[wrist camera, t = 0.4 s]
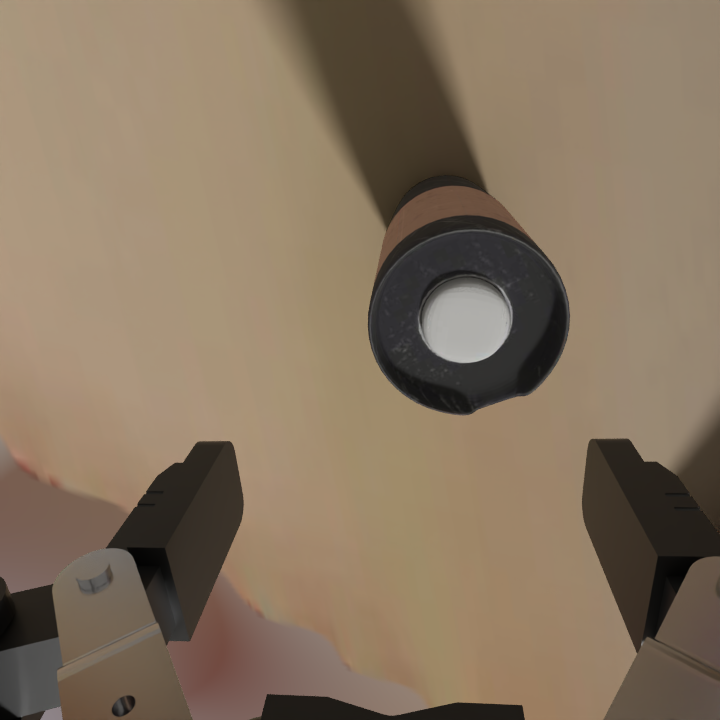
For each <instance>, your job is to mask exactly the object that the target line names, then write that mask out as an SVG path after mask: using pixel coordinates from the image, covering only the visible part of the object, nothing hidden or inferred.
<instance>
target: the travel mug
mask: <svg viewBox="0 0 720 720" xmlns="http://www.w3.org/2000/svg"><path fill="white" fill-rule="evenodd" d="M569 321H570V312H569V302H568V298H567V294H566V289H565V287H564V284H563V282H562V279H561V277H560V275H559V274H558V272H557V270H556V269H555V267H554V265H553V264H552V262H551V261H550V260H549V259H548V258H547V256H546V255H545V254H544V253H543V252H542V250H541V249H540V248H539V247H538V246H537V245H536V243H535V242H534V241H533V240H532V239H531V238H530V236H529V235H528V234H527V233H526V232H525V231H524V229H523V228H522V227H521V226H520V225H519V224H518V222H517V221H516V220H515V219H514V218H513V217H512V215H511V214H510V213H509V212H508V211H507V210H506V208H505V207H504V206H503V205H502V204H501V203H499V202H498V201H497V200H496V199H495V198H493V197H492V196H491V195H490V194H488V193H487V192H486V191H484V190H483V189H482V188H480V187H479V186H477V185H476V184H474V183H473V182H471V181H469V180H467V179H464V178H461V177H456V176H447V175H445V176H436V177H432V178H429V179H426V180H424V181H422V182H420V183H418V184H417V185H416V186H414V187H413V188H412V189H411V190H410V191H408V192H407V193H406V195H405V196H404V197H403V198H402V200H401V201H400V203H399V205H398V207H397V209H396V211H395V213H394V215H393V217H392V220H391V222H390V224H389V227H388V229H387V231H386V234H385V237H384V240H383V245H382V250H381V254H380V259H379V264H378V268H377V273H376V277H375V282H374V287H373V291H372V296H371V301H370V306H369V311H368V332H369V340H370V344H371V348H372V351H373V354H374V357H375V359H376V362H377V363H378V365H379V367H380V369H381V371H382V372H383V373H384V375H385V376H386V378H387V379H388V380H389V381H390V382H391V383H392V384H393V386H394V387H395V388H396V389H397V390H399V391H400V392H401V393H403V394H404V395H405V396H406V397H408V398H410V399H411V400H413V401H414V402H416V403H418V404H420V405H422V406H425V407H427V408H430V409H433V410H436V411H439V412H443V413H448V414H454V415H469V414H472V413H473V412H475V411H476V410H478V409H481V408H483V407H486V406H489V405H492V404H495V403H498V402H501V401H504V400H507V399H510V398H513V397H517V396H526V395H529V394H531V393H532V392H533V391H534V390H536V389H537V388H538V387H539V386H540V385H541V384H542V383H543V382H544V380H545V379H546V378H547V377H548V375H549V374H550V373H551V371H552V370H553V368H554V367H555V365H556V364H557V362H558V360H559V358H560V356H561V354H562V352H563V349H564V346H565V344H566V341H567V336H568V331H569Z"/></svg>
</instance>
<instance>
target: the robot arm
mask: <svg viewBox="0 0 720 720" xmlns="http://www.w3.org/2000/svg"><path fill="white" fill-rule="evenodd" d="M243 505H244V503H243V493H242V487H241V482H240V476H239V471H238V466H237V460H236V455H235V450H234V446H233V444H232V443H231V442H230V441H203V442H197V443H196V444H195V446H194V447H193V449H192V450H191V452H190V453H189V455H188V456H187V458H186V459H185V461H184V462H183V463H174V464H173V465H172V466H170V467H169V468H168V469H166V470H165V471H163V472H162V473H161V474H159V475H158V476H157V477H156V478H155V480H154V481H153V483H152V484H151V485H150V487H149V488H148V490H147V491H146V494H144V495H143V497H142V498H141V500H140V501H139V502H138V506H137V507H135V508H134V509H133V511H132V512H131V514H130V515H129V516H128V518H127V519H126V521H125V522H124V523H123V525H122V526H121V528H120V529H119V531H118V532H117V533H116V535H115V536H114V537H113V539H112V540H111V542H110V543H109V545H108V546H107V547H106V549H101V550H97V551H94V552H91V553H88V554H86V555H84V556H82V557H80V558H78V559H76V560H75V561H73V562H72V563H70V564H69V565H68V566H67V567H65V568H64V569H63V570H62V571H61V572H60V574H59V575H58V577H57V578H56V579H55V581H54V584H52V585H48V586H43V587H39V588H34V589H30V590H25V591H21V592H16V593H12V594H10V592H9V590H8V587H7V585H6V583H5V581H4V579H3V578H1V577H0V720H40V719H41V717H42V715H43V714H44V712H45V710H49V709H52V708H56V707H60V706H61V711H62V717H63V720H193V719H192V717H191V714H190V711H189V708H188V705H187V702H186V700H185V697H184V694H183V691H182V688H181V685H180V683H179V680H178V677H177V675H176V671H175V669H174V666H173V663H172V660H171V658H170V655H169V652H168V649H167V644H168V642H169V641H190V640H191V637H192V635H193V633H194V630H195V628H196V626H197V623H198V621H199V619H200V616H201V614H202V612H203V609H204V607H205V605H206V602H207V600H208V598H209V595H210V593H211V591H212V589H213V586H214V584H215V581H216V579H217V577H218V575H219V572H220V570H221V568H222V565H223V563H224V561H225V558H226V556H227V554H228V551H229V549H230V547H231V544H232V542H233V540H234V537H235V535H236V533H237V530H238V528H239V526H240V523H241V520H242V515H243ZM582 510H583V518H584V522H585V526H586V529H587V531H588V534H589V536H590V538H591V541H592V543H593V546H594V548H595V551H596V553H597V556H598V558H599V561H600V563H601V566H602V568H603V571H604V573H605V575H606V578H607V580H608V583H609V585H610V588H611V590H612V593H613V595H614V598H615V600H616V603H617V605H618V607H619V610H620V612H621V615H622V617H623V620H624V622H625V625H626V627H627V630H628V632H629V635H630V637H631V640H632V642H633V644H634V647H635V649H636V652H637V656H636V658H635V659H634V661H633V663H632V665H631V667H630V669H629V671H628V673H627V675H626V677H625V679H624V681H623V683H622V685H621V687H620V689H619V690H618V692H617V694H616V696H615V698H614V700H613V702H612V704H611V706H610V708H609V710H608V712H607V714H606V716H605V718H604V720H720V535H719V534H718V532H717V531H716V530H715V528H714V527H713V525H712V524H711V523H710V521H709V520H708V518H707V517H706V516H705V514H704V513H703V511H700V507H699V506H698V504H697V503H696V502H695V500H694V499H693V497H690V493H689V492H688V490H687V489H686V488H685V486H684V485H683V483H682V482H681V481H680V479H679V478H678V476H676V475H675V474H673V473H672V472H671V471H669V470H668V469H666V468H665V467H663V466H662V465H661V464H659V463H658V462H644V461H643V459H642V458H641V456H640V455H639V453H638V452H637V450H636V449H635V447H634V445H633V444H632V442H631V441H630V440H629V439H591V440H590V442H589V444H588V450H587V458H586V468H585V477H584V486H583V495H582ZM250 720H525V718H524V713H523V707H522V705H503V704H480V703H452V704H448V705H443V706H438V707H434V708H429V709H424V710H420V711H415V712H411V713H406V714H401V715H396V716H388V715H383V714H380V713H377V712H374V711H371V710H367V709H364V708H361V707H358V706H355V705H352V704H348V703H345V702H342V701H339V700H335V699H332V698H329V697H318V696H317V697H315V696H294V695H271V694H270V695H269V694H267V697H266V700H265V705H264V708H263V712H262V716H261V717H256V718H253V719H250Z"/></svg>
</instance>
